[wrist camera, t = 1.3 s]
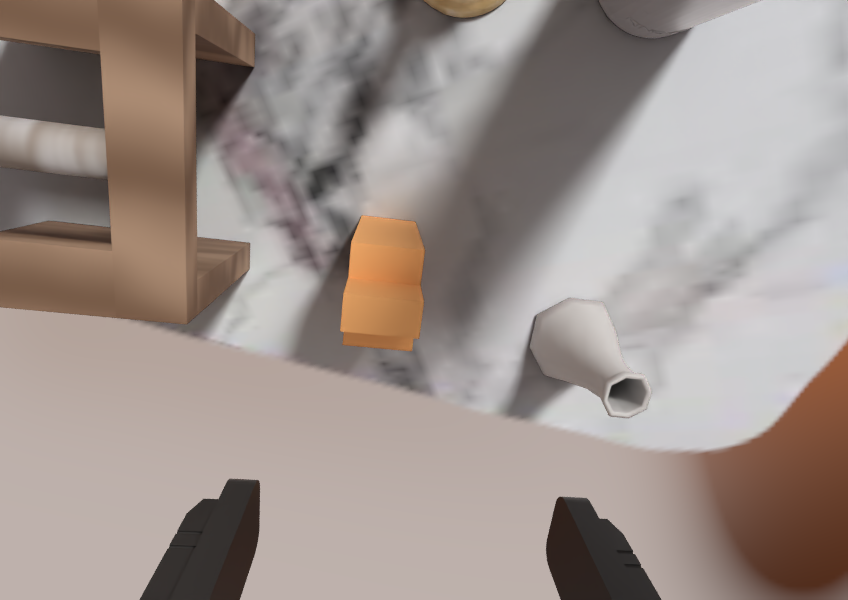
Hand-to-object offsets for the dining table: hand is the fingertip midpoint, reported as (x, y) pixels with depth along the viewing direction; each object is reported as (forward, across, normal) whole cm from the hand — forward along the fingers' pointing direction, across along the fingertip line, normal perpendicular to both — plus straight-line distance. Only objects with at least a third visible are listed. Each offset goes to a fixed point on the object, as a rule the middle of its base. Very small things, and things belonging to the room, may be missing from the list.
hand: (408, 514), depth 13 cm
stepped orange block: (+26, +1, -1) cm, 26 cm away
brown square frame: (+26, +18, -7) cm, 32 cm away
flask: (+26, -15, +4) cm, 30 cm away
